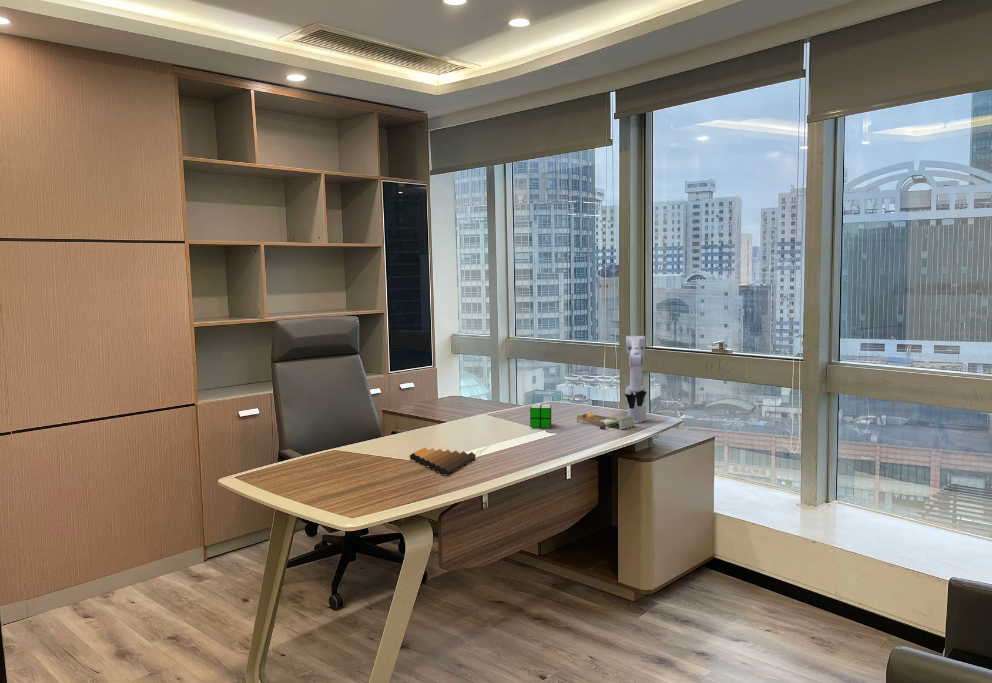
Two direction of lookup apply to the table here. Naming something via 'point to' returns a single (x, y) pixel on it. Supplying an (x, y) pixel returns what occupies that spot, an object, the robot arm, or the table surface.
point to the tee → (602, 426)
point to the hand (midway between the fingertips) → (635, 407)
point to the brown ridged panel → (442, 459)
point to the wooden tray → (596, 421)
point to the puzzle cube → (540, 415)
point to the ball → (590, 416)
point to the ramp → (620, 422)
